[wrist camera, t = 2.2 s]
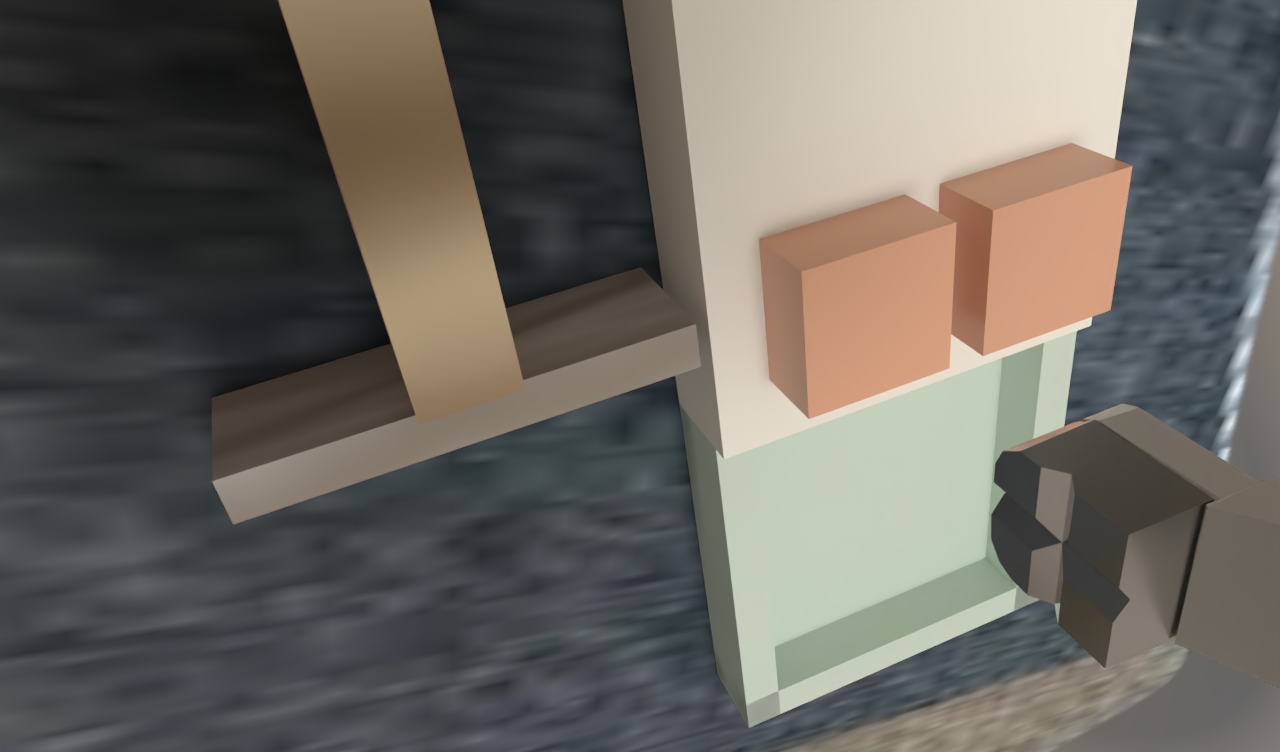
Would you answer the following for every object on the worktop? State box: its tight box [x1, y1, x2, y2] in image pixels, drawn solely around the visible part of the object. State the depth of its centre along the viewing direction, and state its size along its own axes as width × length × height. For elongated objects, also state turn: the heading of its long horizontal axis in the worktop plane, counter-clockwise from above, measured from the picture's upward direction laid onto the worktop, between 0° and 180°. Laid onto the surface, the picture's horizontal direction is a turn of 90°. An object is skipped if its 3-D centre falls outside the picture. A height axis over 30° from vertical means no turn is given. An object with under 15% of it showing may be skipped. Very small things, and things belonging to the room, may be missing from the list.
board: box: [622, 0, 1137, 459], centre depth 23 cm, size 18×12×3 cm, turn 8°
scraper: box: [212, 0, 701, 524], centre depth 19 cm, size 13×11×4 cm
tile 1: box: [759, 194, 957, 419], centre depth 23 cm, size 4×4×2 cm
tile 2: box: [939, 143, 1132, 356], centre depth 24 cm, size 4×4×2 cm
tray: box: [679, 331, 1077, 728], centre depth 31 cm, size 12×12×2 cm
